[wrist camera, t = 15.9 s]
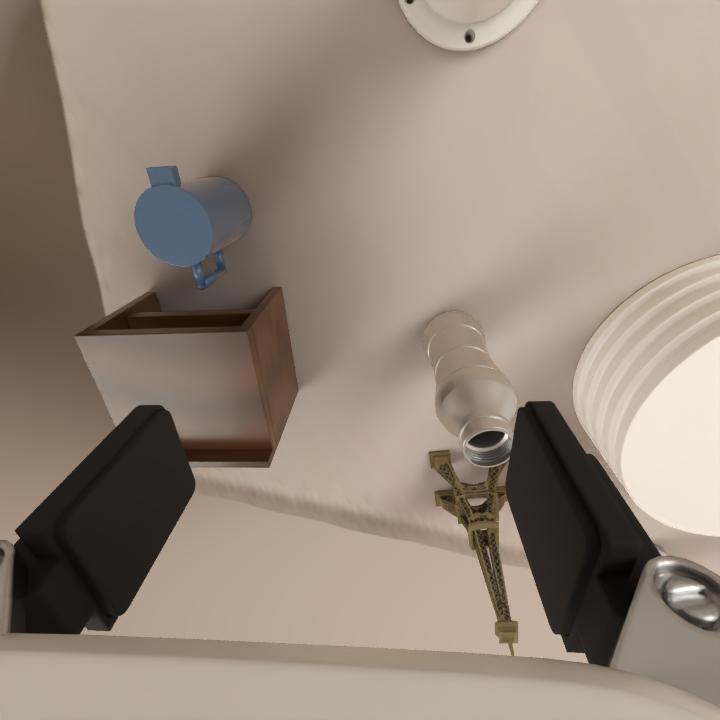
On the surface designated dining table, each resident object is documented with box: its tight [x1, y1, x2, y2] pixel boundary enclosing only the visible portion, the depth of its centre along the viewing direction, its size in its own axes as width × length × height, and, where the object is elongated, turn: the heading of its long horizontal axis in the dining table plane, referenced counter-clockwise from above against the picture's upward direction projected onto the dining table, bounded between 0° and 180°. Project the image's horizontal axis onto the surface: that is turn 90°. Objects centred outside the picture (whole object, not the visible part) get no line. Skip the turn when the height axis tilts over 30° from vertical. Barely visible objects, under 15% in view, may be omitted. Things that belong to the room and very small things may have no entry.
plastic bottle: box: [423, 311, 517, 468], centre depth 36 cm, size 6×7×20 cm
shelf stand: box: [74, 287, 298, 468], centre depth 41 cm, size 14×16×14 cm
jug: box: [135, 166, 251, 290], centre depth 36 cm, size 10×6×10 cm, turn 3°
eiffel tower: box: [429, 450, 518, 656], centre depth 44 cm, size 11×11×25 cm
